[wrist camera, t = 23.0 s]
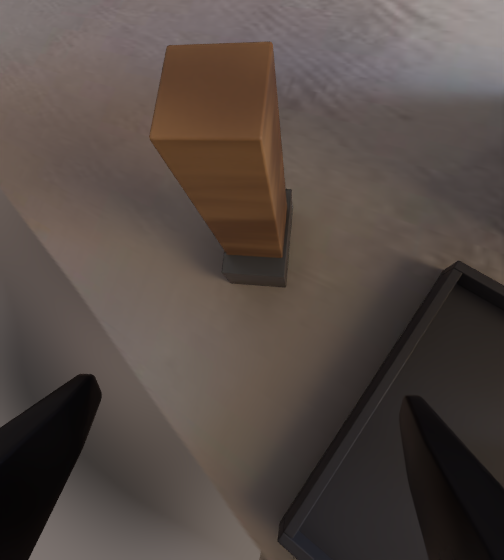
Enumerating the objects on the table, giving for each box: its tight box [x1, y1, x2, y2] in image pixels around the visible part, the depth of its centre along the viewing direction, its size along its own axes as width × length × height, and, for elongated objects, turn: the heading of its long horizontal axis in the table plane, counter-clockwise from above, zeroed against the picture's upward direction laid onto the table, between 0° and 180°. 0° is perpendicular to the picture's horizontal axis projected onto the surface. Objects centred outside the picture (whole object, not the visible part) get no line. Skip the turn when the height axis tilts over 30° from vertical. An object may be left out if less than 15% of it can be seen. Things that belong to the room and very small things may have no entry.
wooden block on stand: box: [149, 42, 293, 287], centre depth 18 cm, size 6×4×15 cm, turn 174°
